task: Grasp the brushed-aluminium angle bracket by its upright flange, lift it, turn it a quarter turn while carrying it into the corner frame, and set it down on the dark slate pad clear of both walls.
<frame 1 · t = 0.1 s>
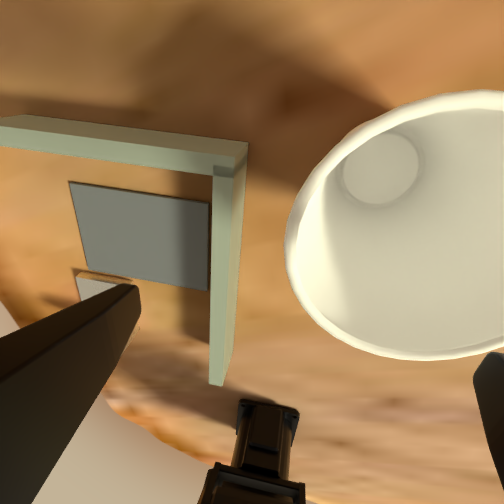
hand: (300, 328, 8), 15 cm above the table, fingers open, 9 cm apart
corner frame: (145, 254, 26), on the table
cup: (378, 167, 20), on the table
bracket: (115, 319, 31), on the table
pad: (143, 238, 26), on the table
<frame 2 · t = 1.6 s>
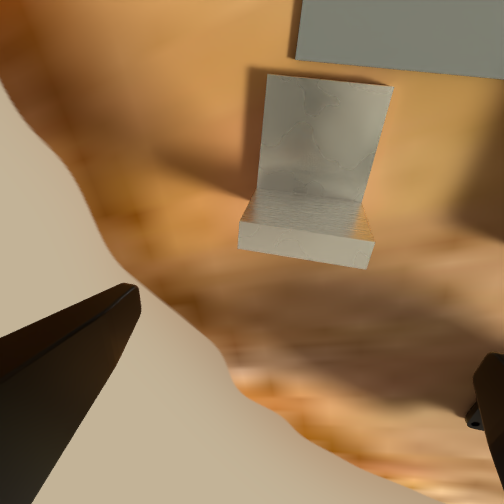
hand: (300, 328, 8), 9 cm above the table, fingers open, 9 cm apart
bracket: (306, 199, 16), on the table
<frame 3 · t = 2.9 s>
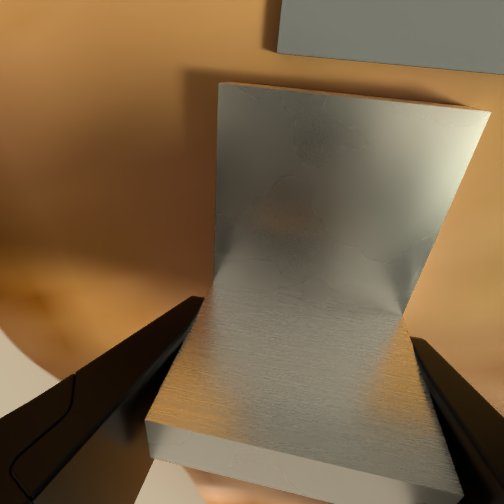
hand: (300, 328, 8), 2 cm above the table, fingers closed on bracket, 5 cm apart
bracket: (302, 292, 9), on the table, touching gripper
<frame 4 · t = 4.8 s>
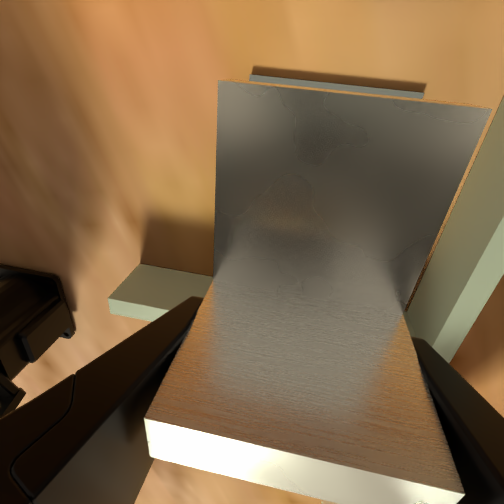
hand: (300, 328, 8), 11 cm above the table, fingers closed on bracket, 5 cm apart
corner frame: (285, 190, 18), on the table
bracket: (302, 291, 9), point 9 cm above the table, touching gripper
pad: (312, 194, 18), on the table
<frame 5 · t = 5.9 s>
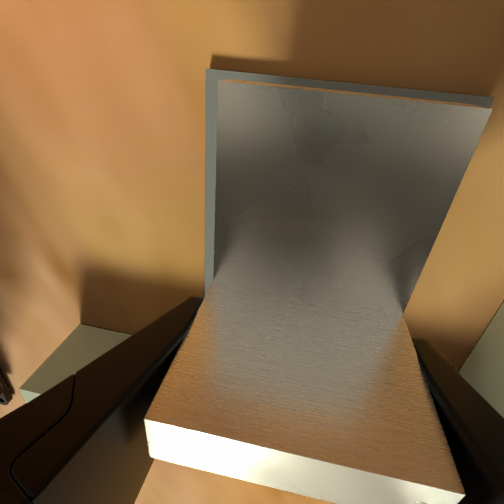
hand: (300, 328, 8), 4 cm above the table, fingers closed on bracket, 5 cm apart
corner frame: (269, 239, 12), on the table
bracket: (302, 291, 9), point 3 cm above the table, touching gripper
pad: (308, 245, 12), on the table
when the fingers open (3 cm above the table, at t = 6.6 s): bracket drops 1 cm, resting on pad.
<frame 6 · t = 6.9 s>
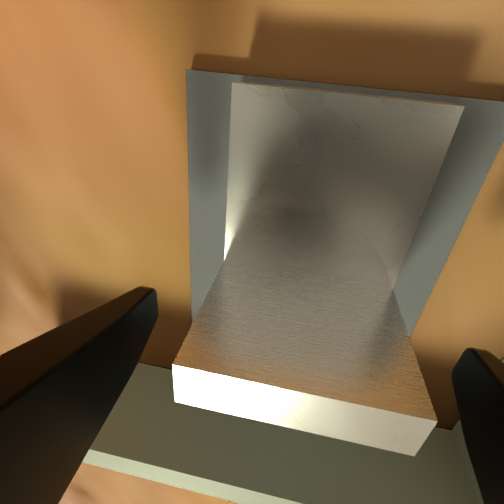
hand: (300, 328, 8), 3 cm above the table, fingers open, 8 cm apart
corner frame: (262, 259, 11), on the table
bracket: (303, 272, 10), resting on pad
pad: (305, 266, 11), on the table
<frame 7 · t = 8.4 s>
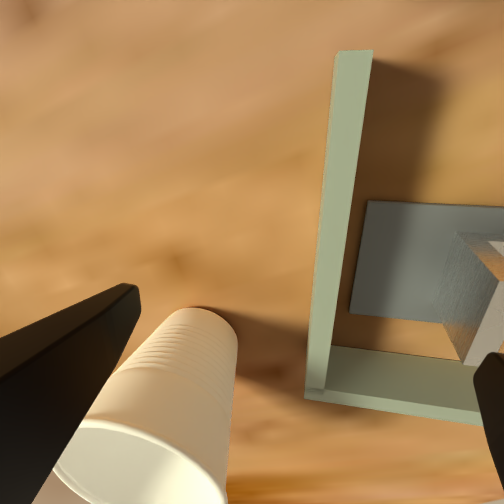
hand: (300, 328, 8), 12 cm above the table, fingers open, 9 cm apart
corner frame: (459, 246, 18), on the table
cup: (203, 332, 26), on the table
bracket: (453, 270, 19), resting on pad
pad: (452, 268, 19), on the table
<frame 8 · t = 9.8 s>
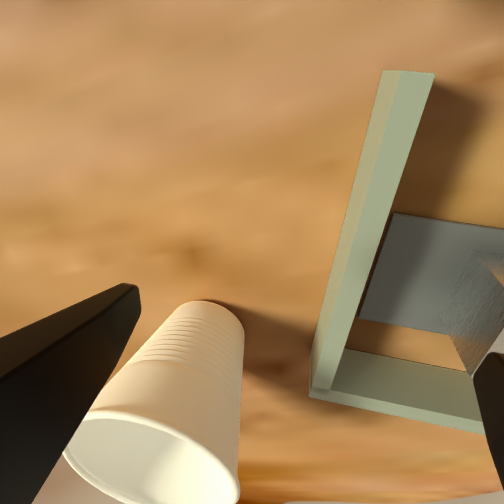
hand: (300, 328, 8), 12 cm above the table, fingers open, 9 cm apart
corner frame: (473, 264, 19), on the table
cup: (209, 325, 26), on the table
bracket: (464, 286, 19), resting on pad
pad: (463, 284, 20), on the table
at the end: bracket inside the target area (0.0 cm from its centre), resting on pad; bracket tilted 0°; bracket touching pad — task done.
